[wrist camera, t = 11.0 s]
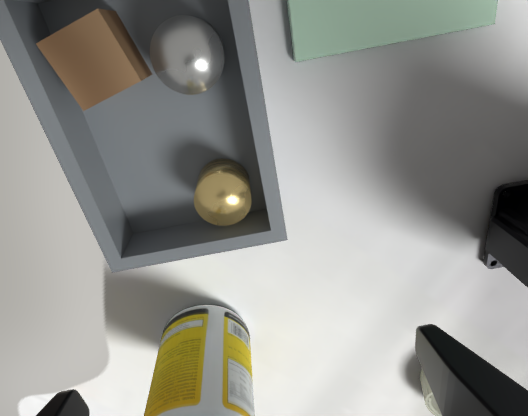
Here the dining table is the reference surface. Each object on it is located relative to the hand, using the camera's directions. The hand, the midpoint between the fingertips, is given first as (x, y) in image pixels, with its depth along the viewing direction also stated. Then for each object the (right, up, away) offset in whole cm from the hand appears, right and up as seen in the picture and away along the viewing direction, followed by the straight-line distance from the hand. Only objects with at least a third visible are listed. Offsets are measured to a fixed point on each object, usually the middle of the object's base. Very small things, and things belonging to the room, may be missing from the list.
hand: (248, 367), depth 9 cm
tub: (-5, +9, +10) cm, 14 cm away
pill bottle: (-4, -5, +17) cm, 19 cm away
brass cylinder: (-2, +6, +11) cm, 13 cm away
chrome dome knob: (-3, +12, +8) cm, 14 cm away
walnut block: (-7, +11, +8) cm, 15 cm away
